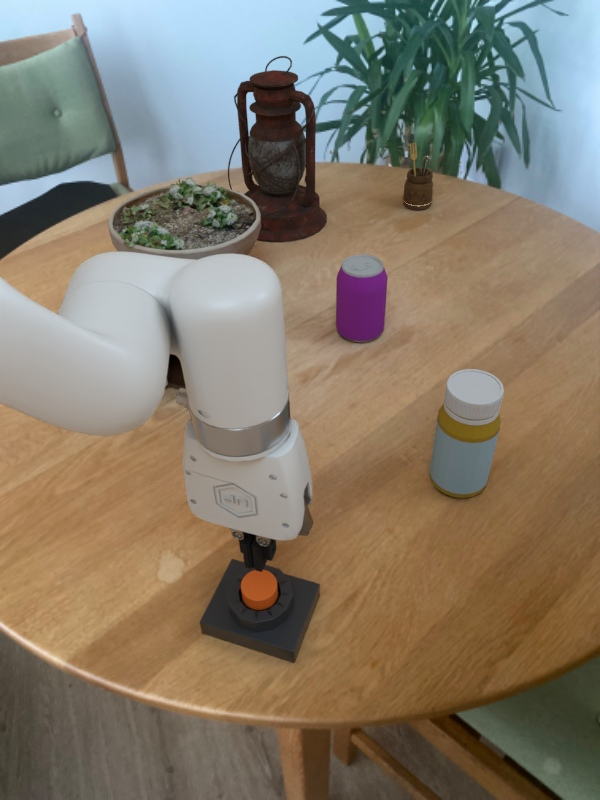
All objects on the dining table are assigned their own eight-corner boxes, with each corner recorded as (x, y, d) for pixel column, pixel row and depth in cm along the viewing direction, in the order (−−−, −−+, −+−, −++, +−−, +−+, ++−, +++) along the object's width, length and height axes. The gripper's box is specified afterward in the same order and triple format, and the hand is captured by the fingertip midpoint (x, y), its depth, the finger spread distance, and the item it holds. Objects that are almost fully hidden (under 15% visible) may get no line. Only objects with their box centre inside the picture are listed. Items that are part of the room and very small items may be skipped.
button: (236, 604, 67) (234, 594, 66) (250, 575, 69) (249, 565, 68) (270, 614, 66) (269, 605, 65) (283, 584, 68) (282, 574, 67)
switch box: (201, 633, 68) (197, 612, 66) (233, 570, 74) (230, 548, 71) (294, 663, 66) (293, 642, 63) (320, 595, 71) (319, 573, 69)
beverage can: (372, 313, 111) (376, 248, 104) (391, 339, 106) (397, 272, 98) (329, 322, 110) (329, 256, 102) (345, 349, 104) (347, 281, 96)
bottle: (441, 452, 87) (456, 359, 77) (494, 471, 84) (516, 378, 74) (419, 487, 82) (432, 394, 73) (474, 509, 80) (495, 415, 70)
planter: (188, 237, 133) (177, 163, 123) (292, 272, 122) (289, 193, 112) (90, 296, 117) (69, 217, 108) (200, 342, 106) (187, 258, 97)
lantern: (215, 227, 136) (196, 67, 117) (269, 193, 148) (260, 42, 128) (293, 251, 128) (287, 83, 108) (344, 212, 140) (347, 55, 120)
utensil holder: (414, 213, 139) (419, 155, 131) (396, 202, 143) (400, 145, 135) (437, 206, 141) (443, 149, 133) (419, 196, 145) (424, 139, 137)
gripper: (131, 426, 51) (170, 569, 63) (318, 469, 47) (322, 613, 59) (176, 367, 56) (205, 509, 68) (348, 401, 52) (347, 546, 64)
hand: (259, 557), depth 64 cm, fingers closed
